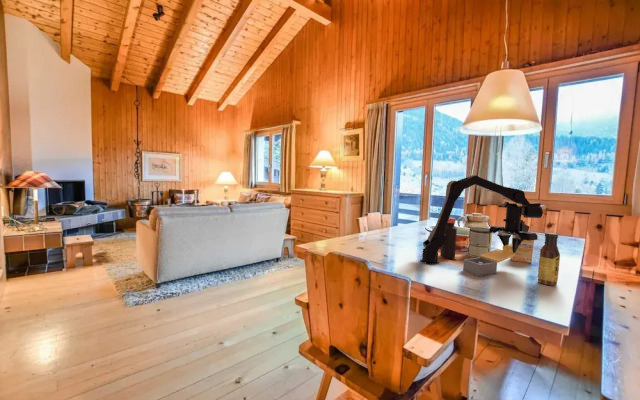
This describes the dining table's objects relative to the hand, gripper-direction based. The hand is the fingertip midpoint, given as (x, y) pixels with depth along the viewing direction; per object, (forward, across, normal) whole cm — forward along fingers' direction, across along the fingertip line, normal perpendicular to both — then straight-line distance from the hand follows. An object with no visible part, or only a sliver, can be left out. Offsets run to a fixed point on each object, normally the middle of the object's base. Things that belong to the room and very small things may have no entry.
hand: (510, 251), depth 133 cm
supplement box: (+8, +6, -17) cm, 20 cm away
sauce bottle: (+8, -18, +3) cm, 20 cm away
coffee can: (+8, +19, -4) cm, 21 cm away
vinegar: (+8, +22, +14) cm, 27 cm away
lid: (+1, 0, +5) cm, 6 cm away
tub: (+8, 0, +18) cm, 20 cm away
